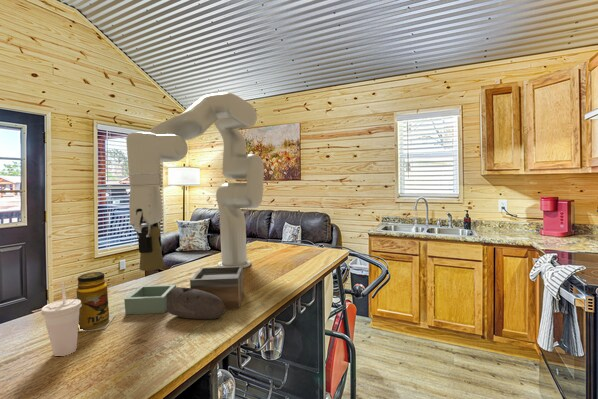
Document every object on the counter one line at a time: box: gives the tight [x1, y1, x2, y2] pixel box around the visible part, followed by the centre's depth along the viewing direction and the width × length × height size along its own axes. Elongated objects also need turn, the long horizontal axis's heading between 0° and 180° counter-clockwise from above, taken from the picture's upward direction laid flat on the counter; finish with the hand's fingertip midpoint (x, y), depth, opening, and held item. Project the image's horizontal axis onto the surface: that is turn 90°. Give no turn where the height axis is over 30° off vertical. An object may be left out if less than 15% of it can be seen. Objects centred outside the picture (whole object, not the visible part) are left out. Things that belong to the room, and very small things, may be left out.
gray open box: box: [189, 266, 245, 311], centre depth 87 cm, size 11×12×8 cm
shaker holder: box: [124, 284, 177, 315], centre depth 85 cm, size 10×10×4 cm
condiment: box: [76, 271, 116, 333], centre depth 75 cm, size 7×8×12 cm
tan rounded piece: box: [139, 226, 165, 272], centre depth 84 cm, size 6×6×11 cm
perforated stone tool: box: [166, 286, 226, 320], centre depth 77 cm, size 15×5×7 cm, turn 73°
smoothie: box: [40, 281, 82, 357], centre depth 63 cm, size 6×6×14 cm
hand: (150, 248), depth 84 cm, fingers closed on tan rounded piece, 5 cm apart
